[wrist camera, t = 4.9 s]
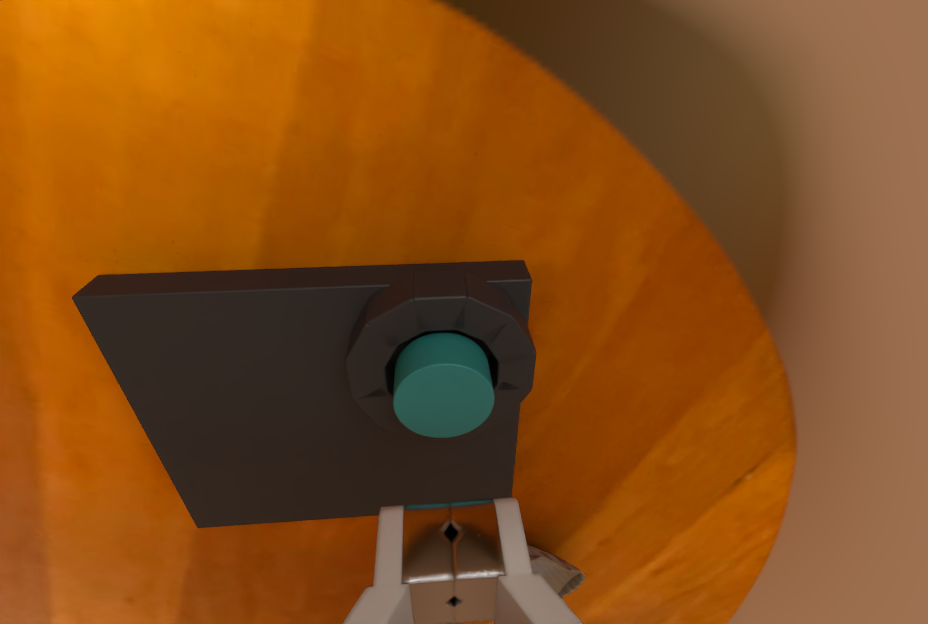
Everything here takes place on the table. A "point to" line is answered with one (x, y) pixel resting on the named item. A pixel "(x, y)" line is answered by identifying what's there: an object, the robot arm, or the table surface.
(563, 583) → the seashell
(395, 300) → the black button board
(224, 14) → the table surface
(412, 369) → the button
